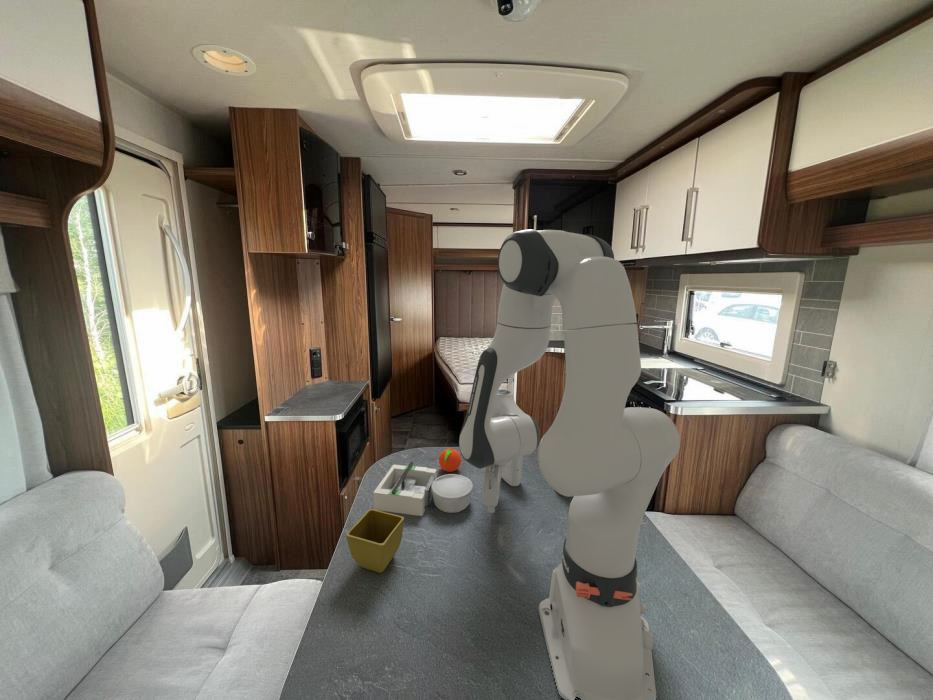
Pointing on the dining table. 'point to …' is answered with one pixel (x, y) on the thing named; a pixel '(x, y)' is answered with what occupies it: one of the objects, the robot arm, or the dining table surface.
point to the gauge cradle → (402, 499)
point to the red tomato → (450, 460)
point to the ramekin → (452, 492)
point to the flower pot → (375, 539)
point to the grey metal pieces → (414, 486)
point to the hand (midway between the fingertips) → (493, 499)
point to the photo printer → (513, 471)
